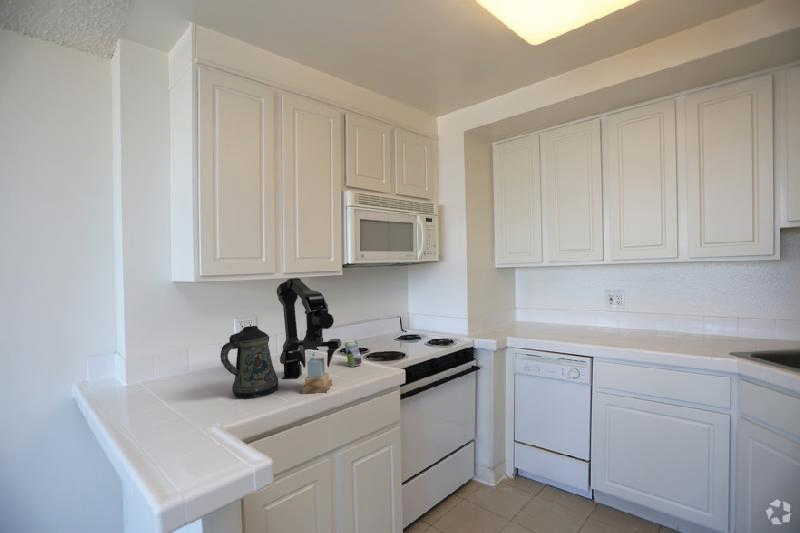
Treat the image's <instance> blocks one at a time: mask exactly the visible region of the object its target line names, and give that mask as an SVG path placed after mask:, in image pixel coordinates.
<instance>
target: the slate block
mask: <svg viewBox="0 0 800 533" xmlns="http://www.w3.org/2000/svg"><path fill="white" fill-rule="evenodd" d="M306 366H307V377H308V378H321V377H322V376H323V375H324V374H325V373H326V372H325V358H324V357H323V358H322V357H319V358H310V359H309V360H308V361H307V362H306Z"/></svg>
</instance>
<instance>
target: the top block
mask: <svg viewBox="0 0 800 533" xmlns="http://www.w3.org/2000/svg"><path fill="white" fill-rule="evenodd" d="M329 380H330V379H329V372H325V374H324V375H323V376H322V377H321V378H308V376H306V378H305V379H304V385H305V387H324V386H325V385H326V383H327V382H328V381H329Z"/></svg>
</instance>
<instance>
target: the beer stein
mask: <svg viewBox="0 0 800 533" xmlns="http://www.w3.org/2000/svg"><path fill="white" fill-rule="evenodd" d="M228 339H229V342H226V343H225V344H223V346H222V347H221V351H220V355H219V357H220V361H221V364H222V366H223V367H224V368H225V369H226V370H227V371H228V372H229V373H230V374H232V375H233V376H234V382H233V384H232V386H231V387H232V393H233V396H234V397H235V398H236V399H239V400H241V399H242V400H253V399H254V400H255V399H259V398H264V397H268V396H270V395H272V394H274V393H276V392H277V391H278V385H279V378H278V376H277V374H276V371H275V369H274V368H275V367H274V364H273V360H272V356H271V351H270V347H269V341H270V335H269V334H268V333H266V332H264V331H262V330H261V329H259V328H258V326H257V325H250V326H249V325H248V326H244V327H243V328H242V329H241V331H239V332H237V333H234V334H231V335H230V336H229V338H228ZM231 350H237V351H236V361H235V362H236V363H235V366H234V365H233V364H232V363H231V361H230V360H229V353H230V351H231Z"/></svg>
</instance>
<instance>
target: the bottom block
mask: <svg viewBox="0 0 800 533" xmlns="http://www.w3.org/2000/svg"><path fill="white" fill-rule="evenodd" d="M331 386H332V387H333V379H329V381H328V382H327V383H326V385H325V386H324V387H305V384H304V385H303V386H302V387H301V390H302V392H301V394H302V395H317V394H316V393H326V394H328V392H329V391H330V389H331V388H332V387H331ZM330 387H331V388H330ZM328 390H329V391H328ZM327 391H328V392H327Z"/></svg>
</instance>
